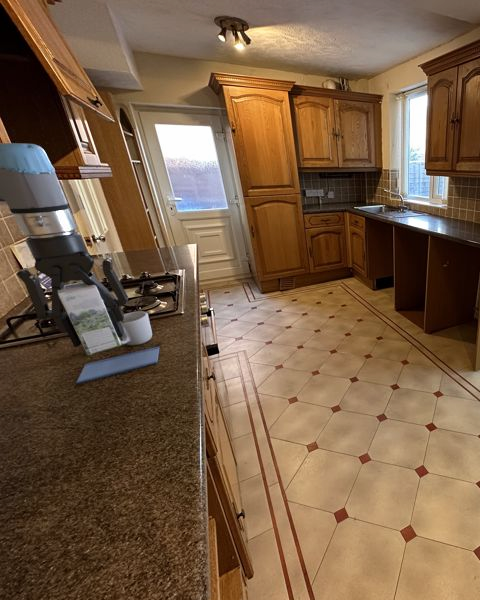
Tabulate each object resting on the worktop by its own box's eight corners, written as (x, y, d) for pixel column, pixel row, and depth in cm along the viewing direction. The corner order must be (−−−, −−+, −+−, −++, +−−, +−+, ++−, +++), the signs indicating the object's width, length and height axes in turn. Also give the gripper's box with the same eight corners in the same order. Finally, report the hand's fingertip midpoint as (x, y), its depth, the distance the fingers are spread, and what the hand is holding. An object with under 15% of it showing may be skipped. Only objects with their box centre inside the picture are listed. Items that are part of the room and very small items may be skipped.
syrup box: (118, 336, 75) (93, 278, 69) (122, 346, 71) (95, 285, 65) (86, 346, 71) (56, 285, 65) (87, 357, 67) (56, 293, 61)
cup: (135, 353, 89) (125, 328, 86) (107, 354, 89) (95, 328, 86) (162, 334, 99) (153, 310, 96) (136, 334, 99) (127, 311, 96)
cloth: (76, 384, 77) (75, 382, 77) (85, 365, 84) (85, 364, 84) (157, 363, 85) (156, 362, 84) (159, 347, 92) (158, 346, 92)
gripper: (-35, 245, 53) (32, 361, 63) (114, 231, 62) (153, 334, 72) (-13, 236, 59) (45, 343, 69) (120, 224, 68) (155, 320, 78)
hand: (100, 338), depth 70 cm, fingers closed on syrup box, 6 cm apart
